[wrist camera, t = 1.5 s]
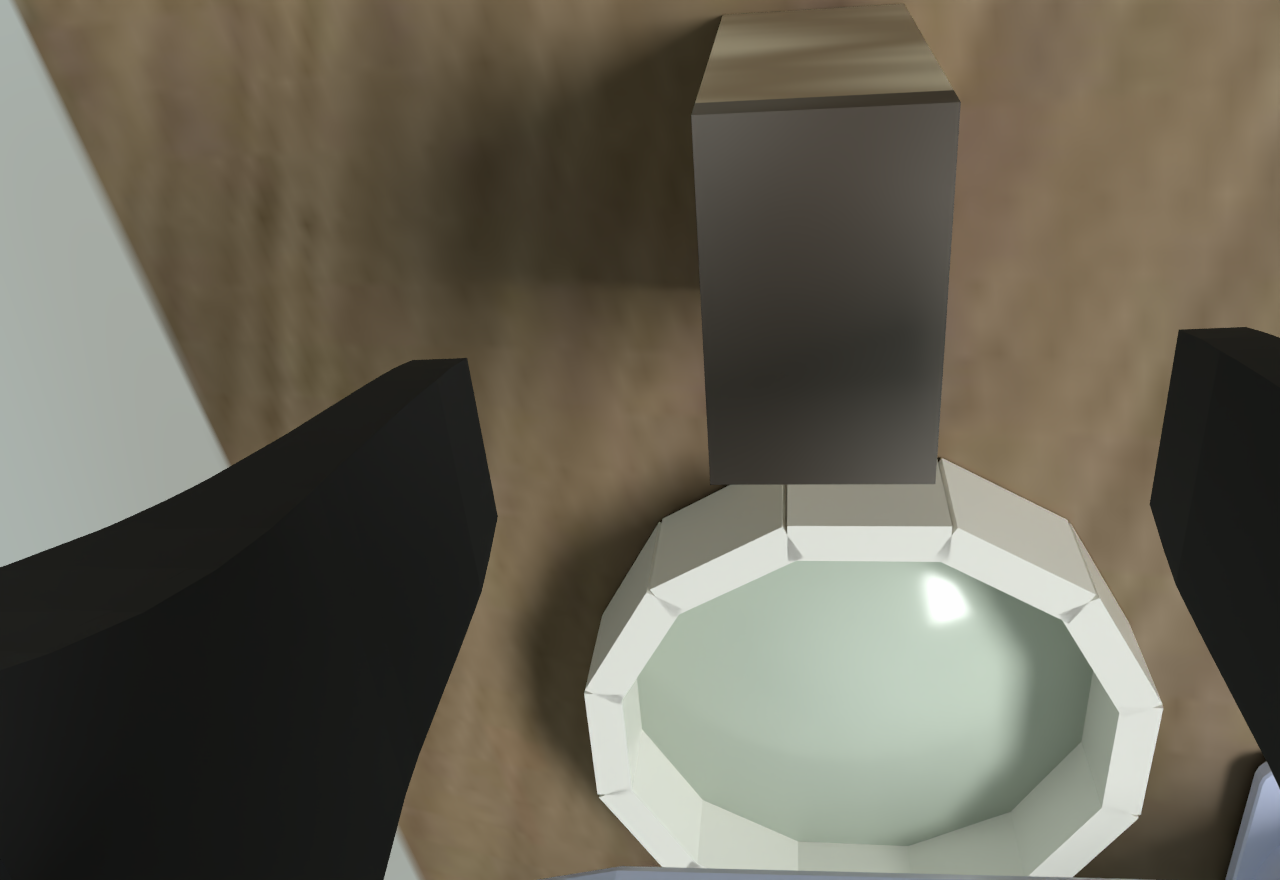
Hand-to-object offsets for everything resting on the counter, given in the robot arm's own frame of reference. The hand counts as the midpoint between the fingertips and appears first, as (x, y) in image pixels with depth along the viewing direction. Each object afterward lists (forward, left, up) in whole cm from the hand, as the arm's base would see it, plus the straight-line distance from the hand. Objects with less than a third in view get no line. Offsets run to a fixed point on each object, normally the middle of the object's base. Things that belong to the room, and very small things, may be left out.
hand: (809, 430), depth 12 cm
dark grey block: (0, 0, -10) cm, 10 cm away
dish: (-1, +12, -10) cm, 15 cm away
